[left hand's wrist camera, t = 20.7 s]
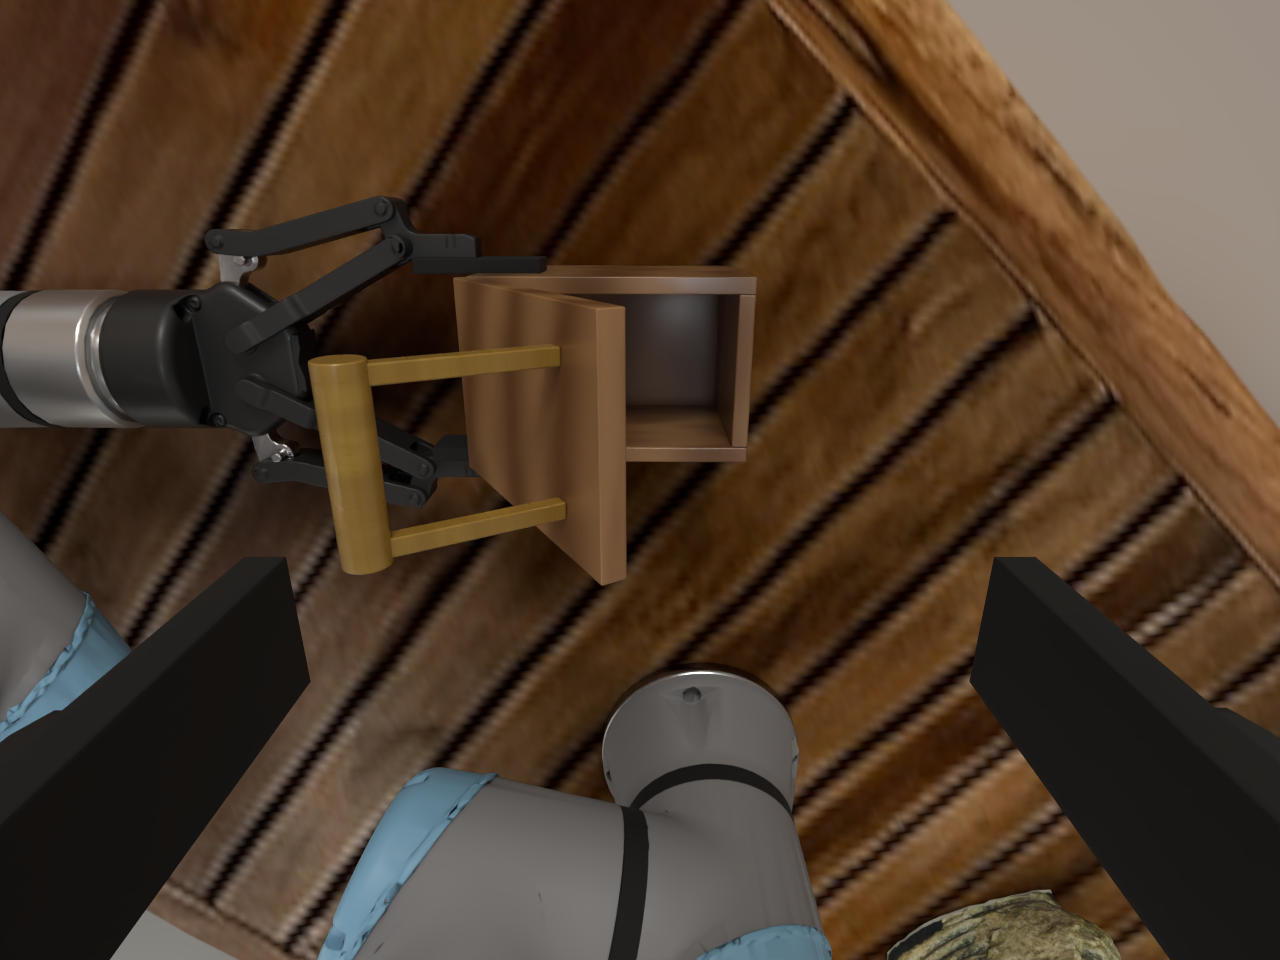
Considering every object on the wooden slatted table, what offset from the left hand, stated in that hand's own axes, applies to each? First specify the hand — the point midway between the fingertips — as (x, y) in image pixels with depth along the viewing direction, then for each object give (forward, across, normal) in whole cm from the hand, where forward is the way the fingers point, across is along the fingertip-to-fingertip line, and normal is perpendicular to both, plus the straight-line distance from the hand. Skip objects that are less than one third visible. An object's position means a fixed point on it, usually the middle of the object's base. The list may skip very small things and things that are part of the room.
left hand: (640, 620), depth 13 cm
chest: (+33, +1, 0) cm, 33 cm away
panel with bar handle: (+17, +4, 0) cm, 17 cm away
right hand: (+27, +5, 0) cm, 27 cm away
